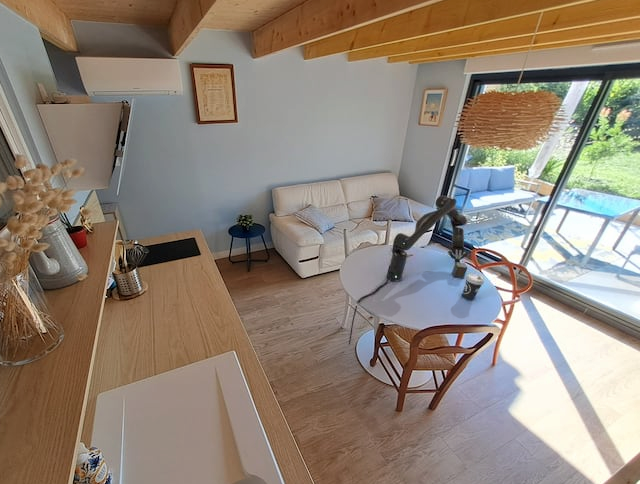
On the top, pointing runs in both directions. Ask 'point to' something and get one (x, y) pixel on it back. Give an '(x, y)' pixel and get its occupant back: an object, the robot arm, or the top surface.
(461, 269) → the walnut block
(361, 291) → the top surface
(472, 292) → the coffee cup
